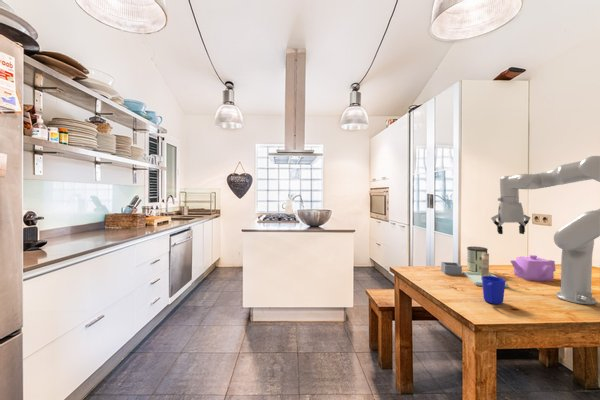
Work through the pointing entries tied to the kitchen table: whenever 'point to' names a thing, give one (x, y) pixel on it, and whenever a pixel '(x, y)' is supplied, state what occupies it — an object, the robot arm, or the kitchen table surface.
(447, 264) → the grey square bin
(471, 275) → the tray
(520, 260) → the teakettle
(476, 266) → the coffee can
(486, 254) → the dowel
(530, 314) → the kitchen table surface
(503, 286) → the mug
